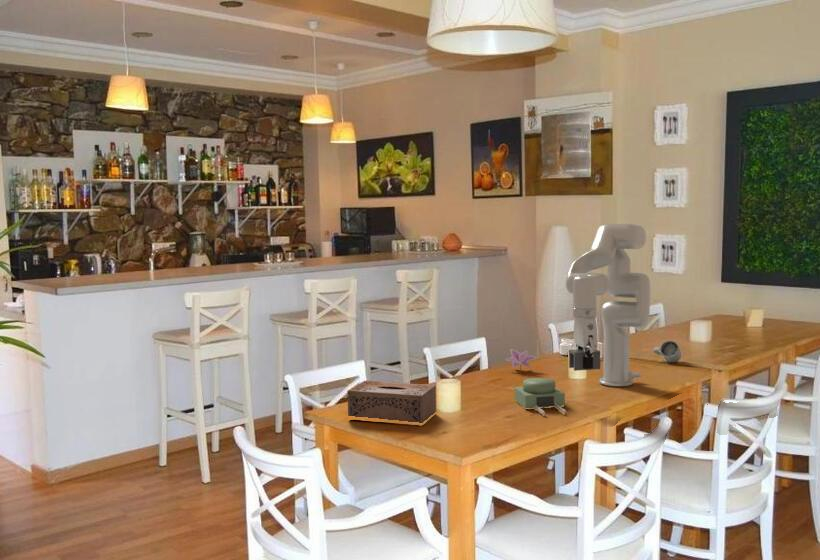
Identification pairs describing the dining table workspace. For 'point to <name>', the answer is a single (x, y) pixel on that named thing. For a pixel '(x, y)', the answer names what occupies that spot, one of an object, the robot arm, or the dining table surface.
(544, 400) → the mower deck
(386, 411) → the tissue box cover
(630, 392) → the dining table surface
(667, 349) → the ceramic mug
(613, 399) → the dining table surface
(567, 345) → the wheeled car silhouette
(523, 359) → the lily
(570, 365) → the chute
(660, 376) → the dining table surface
